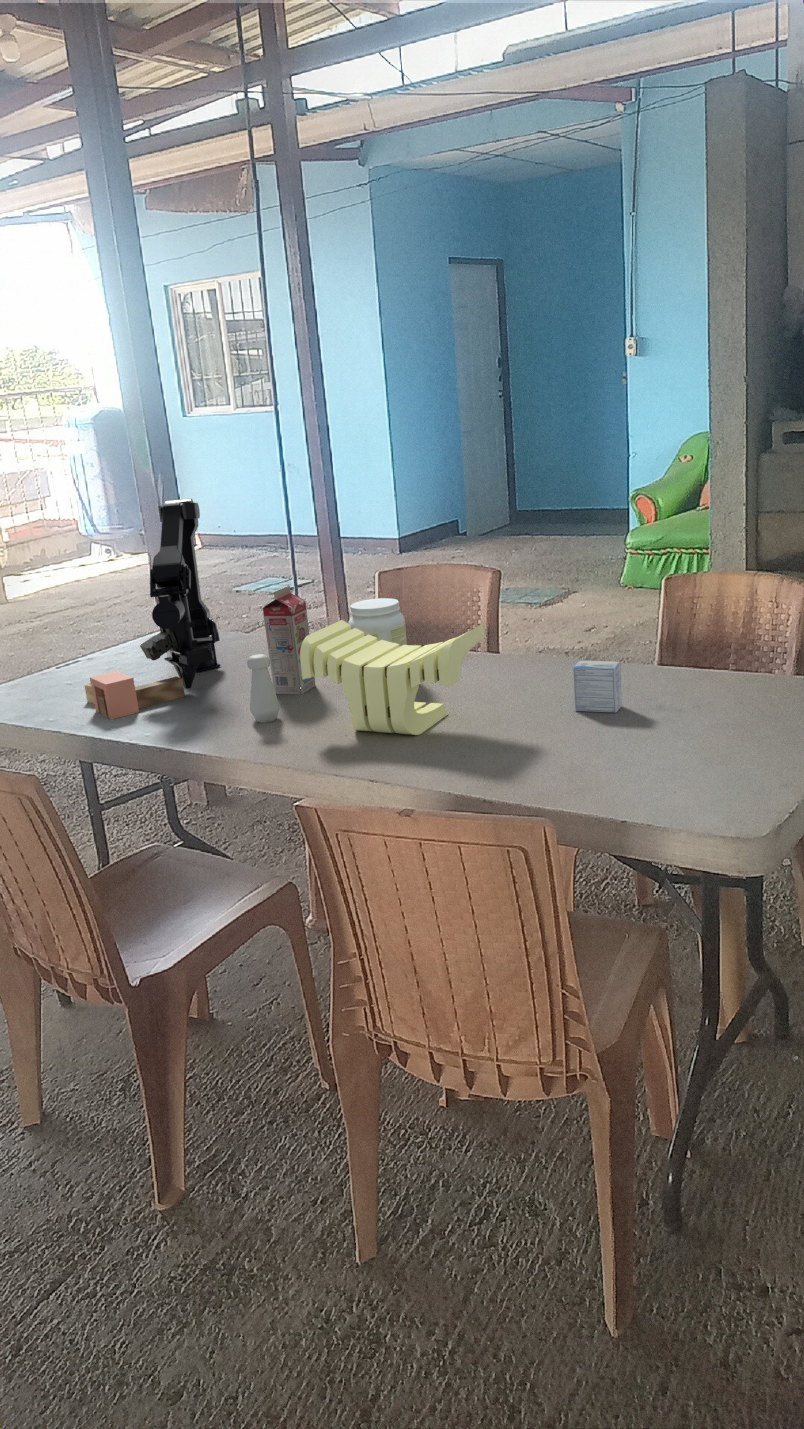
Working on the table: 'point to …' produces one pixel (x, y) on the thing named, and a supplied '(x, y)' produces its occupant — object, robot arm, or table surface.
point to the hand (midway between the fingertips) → (187, 688)
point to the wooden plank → (153, 693)
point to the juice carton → (286, 641)
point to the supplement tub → (379, 619)
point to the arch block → (115, 693)
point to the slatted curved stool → (385, 675)
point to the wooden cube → (89, 693)
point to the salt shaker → (262, 690)
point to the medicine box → (597, 686)
